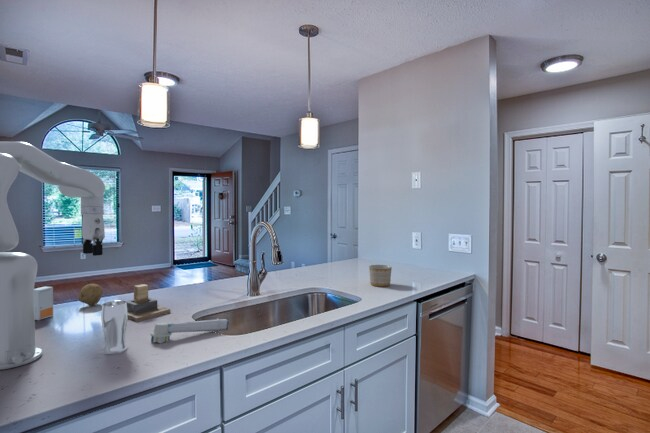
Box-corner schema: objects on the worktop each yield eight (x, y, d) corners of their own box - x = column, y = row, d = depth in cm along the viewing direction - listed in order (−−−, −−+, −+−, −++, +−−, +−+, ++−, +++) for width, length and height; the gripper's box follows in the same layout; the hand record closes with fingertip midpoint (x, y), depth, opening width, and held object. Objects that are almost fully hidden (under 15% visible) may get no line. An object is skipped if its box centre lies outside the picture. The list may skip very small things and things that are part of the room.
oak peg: (148, 308, 145) (148, 285, 144) (138, 311, 141) (138, 287, 141) (143, 307, 147) (143, 283, 147) (134, 309, 144) (133, 285, 143)
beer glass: (123, 344, 112) (122, 298, 111) (132, 349, 107) (131, 302, 107) (98, 351, 107) (97, 303, 106) (107, 357, 102) (105, 307, 102)
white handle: (229, 320, 124) (153, 323, 111) (227, 339, 123) (150, 343, 111) (226, 316, 128) (151, 318, 116) (223, 334, 128) (149, 338, 115)
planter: (366, 286, 191) (367, 267, 190) (371, 281, 203) (371, 264, 202) (389, 288, 187) (390, 269, 186) (392, 283, 198) (393, 265, 198)
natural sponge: (78, 310, 147) (77, 287, 147) (78, 305, 155) (77, 283, 154) (103, 306, 153) (103, 284, 152) (102, 301, 160) (101, 280, 160)
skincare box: (39, 320, 134) (38, 290, 134) (30, 319, 135) (29, 289, 135) (54, 315, 140) (53, 286, 140) (45, 315, 141) (44, 286, 141)
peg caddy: (170, 312, 144) (170, 300, 144) (136, 321, 133) (136, 309, 133) (145, 304, 156) (145, 293, 156) (112, 312, 144) (112, 300, 144)
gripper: (112, 211, 133) (112, 255, 133) (94, 211, 144) (94, 251, 144) (89, 211, 127) (90, 257, 127) (73, 211, 138) (73, 253, 138)
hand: (92, 254), depth 136 cm, fingers open, 9 cm apart
